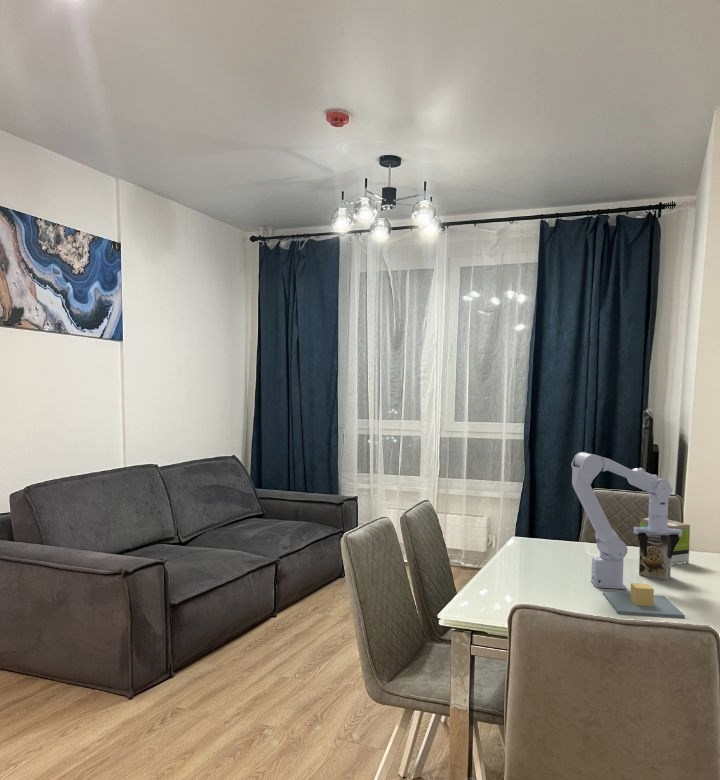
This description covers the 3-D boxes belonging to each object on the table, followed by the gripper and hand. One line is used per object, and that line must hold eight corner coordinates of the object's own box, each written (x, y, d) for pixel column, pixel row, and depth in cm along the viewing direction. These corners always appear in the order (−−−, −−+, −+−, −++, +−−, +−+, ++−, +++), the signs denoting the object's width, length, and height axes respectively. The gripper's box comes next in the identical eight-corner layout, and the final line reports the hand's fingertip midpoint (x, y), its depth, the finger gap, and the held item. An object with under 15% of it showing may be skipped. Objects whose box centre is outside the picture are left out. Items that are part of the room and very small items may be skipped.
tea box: (638, 556, 258) (639, 517, 258) (656, 553, 262) (657, 516, 262) (670, 565, 244) (671, 525, 244) (689, 563, 248) (690, 523, 248)
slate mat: (617, 613, 188) (617, 610, 188) (602, 594, 206) (602, 591, 206) (684, 618, 186) (684, 615, 186) (663, 598, 204) (663, 595, 204)
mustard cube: (635, 605, 194) (635, 587, 194) (630, 599, 199) (630, 583, 199) (653, 606, 193) (653, 589, 193) (647, 600, 198) (648, 584, 198)
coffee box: (638, 575, 229) (639, 528, 229) (643, 571, 234) (644, 525, 234) (666, 580, 224) (667, 532, 224) (671, 576, 229) (672, 529, 229)
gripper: (638, 516, 214) (637, 558, 214) (685, 518, 212) (684, 561, 212) (632, 512, 221) (631, 553, 221) (678, 514, 219) (677, 555, 219)
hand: (657, 556), depth 217 cm, fingers open, 7 cm apart
